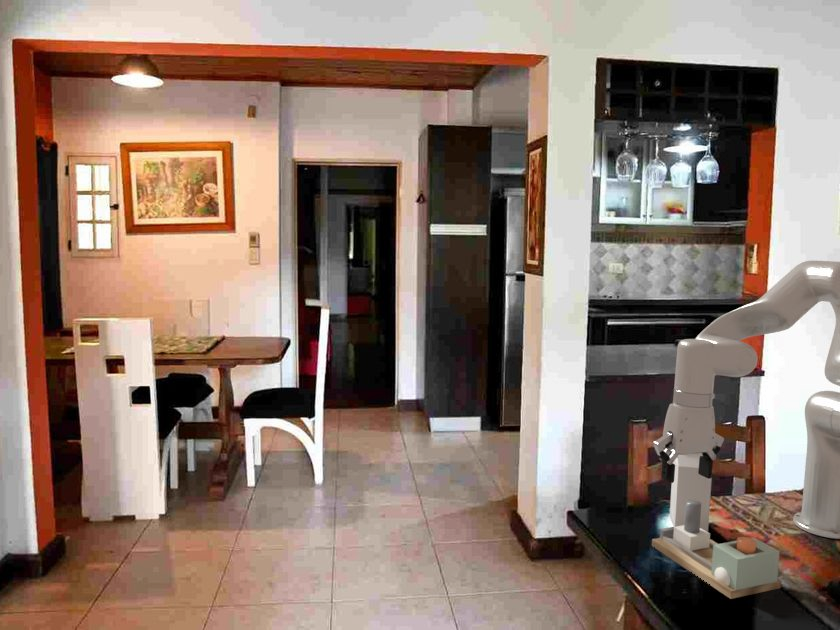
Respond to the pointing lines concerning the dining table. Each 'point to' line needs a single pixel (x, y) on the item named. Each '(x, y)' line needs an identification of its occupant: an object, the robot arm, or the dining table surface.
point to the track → (700, 563)
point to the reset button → (746, 545)
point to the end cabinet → (745, 566)
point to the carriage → (692, 528)
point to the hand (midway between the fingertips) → (686, 478)
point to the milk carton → (689, 490)
